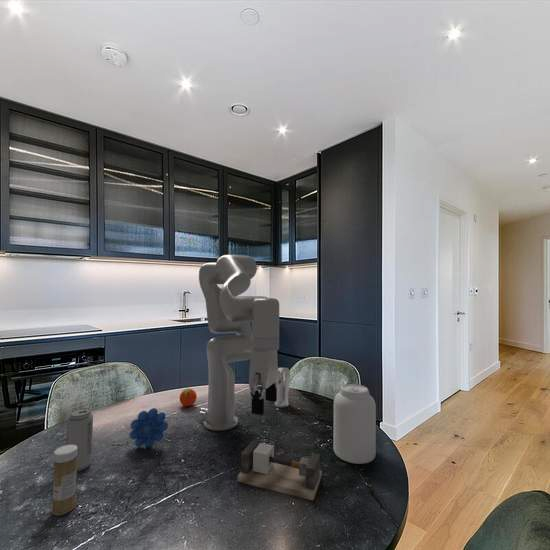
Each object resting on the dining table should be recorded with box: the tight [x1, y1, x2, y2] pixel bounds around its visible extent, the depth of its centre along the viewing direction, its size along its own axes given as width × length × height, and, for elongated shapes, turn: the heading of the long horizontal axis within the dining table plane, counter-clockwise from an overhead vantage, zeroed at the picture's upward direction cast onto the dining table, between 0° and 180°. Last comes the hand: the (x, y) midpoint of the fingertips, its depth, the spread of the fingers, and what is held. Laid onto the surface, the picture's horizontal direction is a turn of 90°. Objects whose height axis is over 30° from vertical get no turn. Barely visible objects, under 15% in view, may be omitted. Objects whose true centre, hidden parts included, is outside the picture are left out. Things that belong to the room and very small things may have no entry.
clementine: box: [179, 388, 197, 407], centre depth 130 cm, size 8×7×7 cm
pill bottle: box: [51, 444, 78, 517], centre depth 71 cm, size 5×5×13 cm
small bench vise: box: [237, 440, 323, 501], centre depth 82 cm, size 20×10×6 cm, turn 70°
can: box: [332, 383, 377, 465], centre depth 95 cm, size 12×12×20 cm
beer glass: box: [273, 366, 291, 408], centre depth 133 cm, size 7×7×15 cm
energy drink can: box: [66, 408, 94, 473], centre depth 87 cm, size 6×6×15 cm
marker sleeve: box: [253, 442, 275, 474], centre depth 84 cm, size 4×5×5 cm
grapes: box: [129, 407, 169, 448], centre depth 98 cm, size 12×7×12 cm, turn 93°
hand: (264, 407), depth 84 cm, fingers open, 9 cm apart
